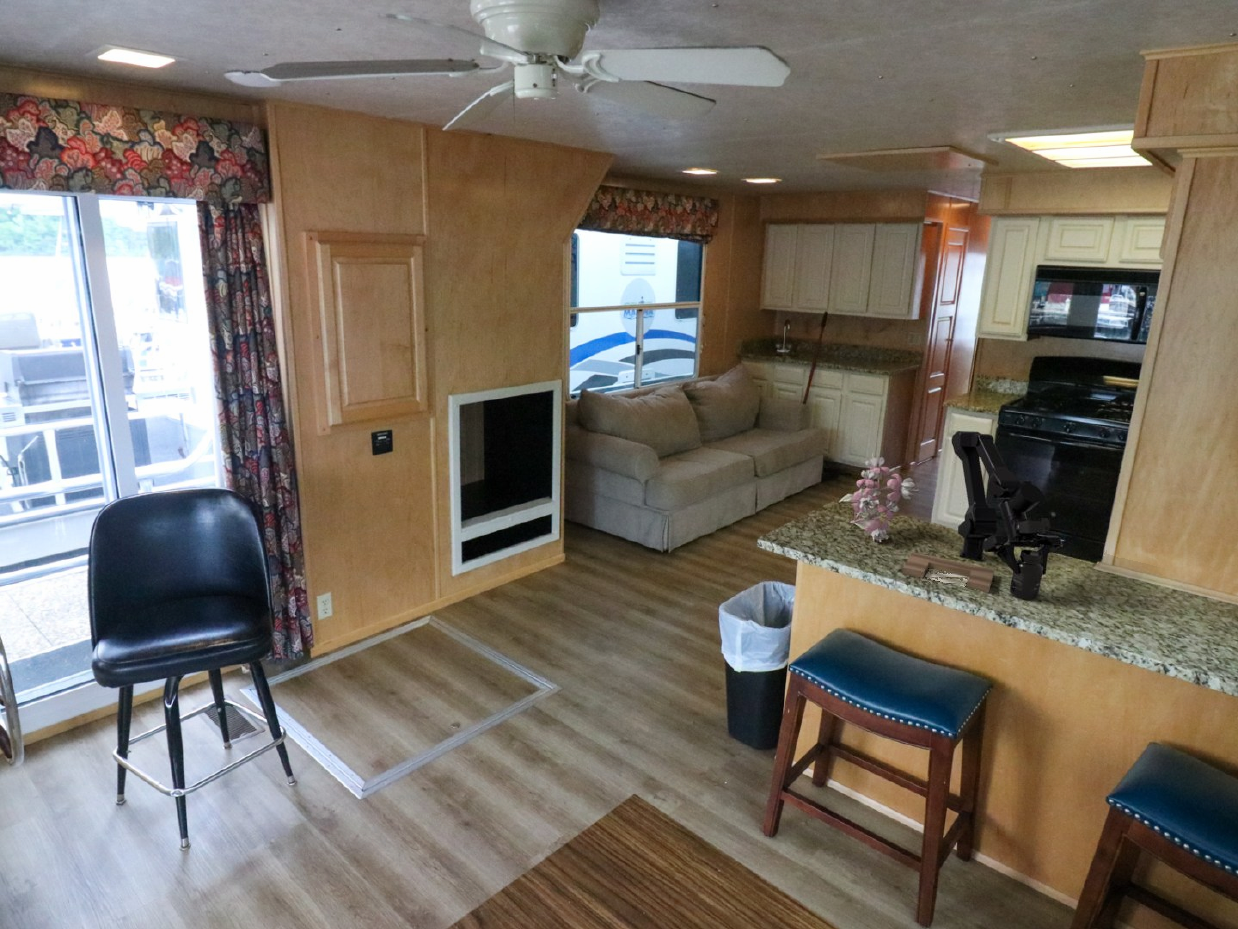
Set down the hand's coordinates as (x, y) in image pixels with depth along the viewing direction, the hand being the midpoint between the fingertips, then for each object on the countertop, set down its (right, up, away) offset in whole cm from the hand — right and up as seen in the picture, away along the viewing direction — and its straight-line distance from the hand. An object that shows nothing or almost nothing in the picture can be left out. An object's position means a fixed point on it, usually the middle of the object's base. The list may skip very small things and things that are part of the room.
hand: (1030, 574), depth 199 cm
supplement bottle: (0, -6, +3) cm, 7 cm away
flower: (-26, +6, +44) cm, 52 cm away
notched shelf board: (-15, -2, +15) cm, 21 cm away
